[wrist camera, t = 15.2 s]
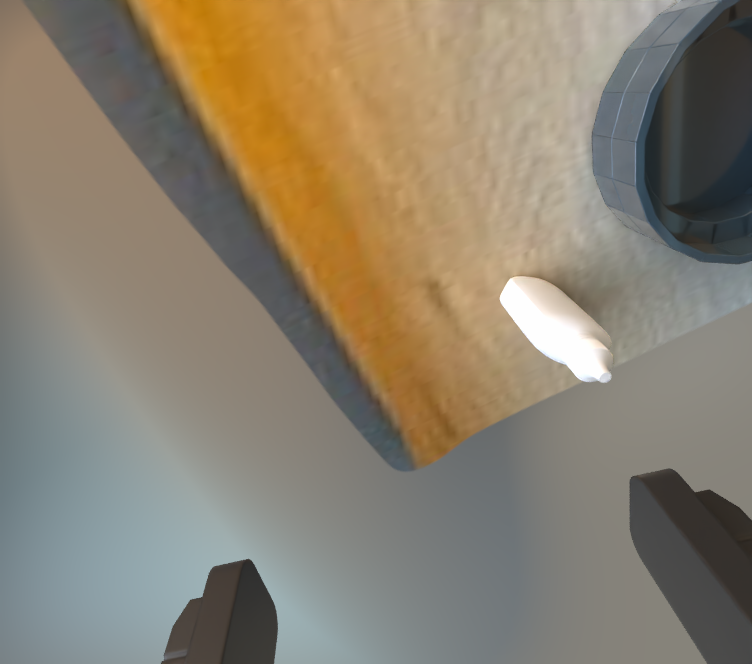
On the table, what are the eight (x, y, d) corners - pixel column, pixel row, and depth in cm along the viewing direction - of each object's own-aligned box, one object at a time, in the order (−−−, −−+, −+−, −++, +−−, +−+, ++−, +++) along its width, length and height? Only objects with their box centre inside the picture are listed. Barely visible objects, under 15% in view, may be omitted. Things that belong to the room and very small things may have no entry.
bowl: (584, 19, 31) (636, 4, 25) (848, -51, 30) (959, -82, 24) (593, 261, 38) (634, 289, 32) (806, 209, 37) (885, 229, 32)
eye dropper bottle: (527, 338, 40) (594, 427, 30) (490, 289, 38) (548, 367, 28) (573, 307, 39) (660, 387, 29) (538, 255, 37) (618, 321, 27)
